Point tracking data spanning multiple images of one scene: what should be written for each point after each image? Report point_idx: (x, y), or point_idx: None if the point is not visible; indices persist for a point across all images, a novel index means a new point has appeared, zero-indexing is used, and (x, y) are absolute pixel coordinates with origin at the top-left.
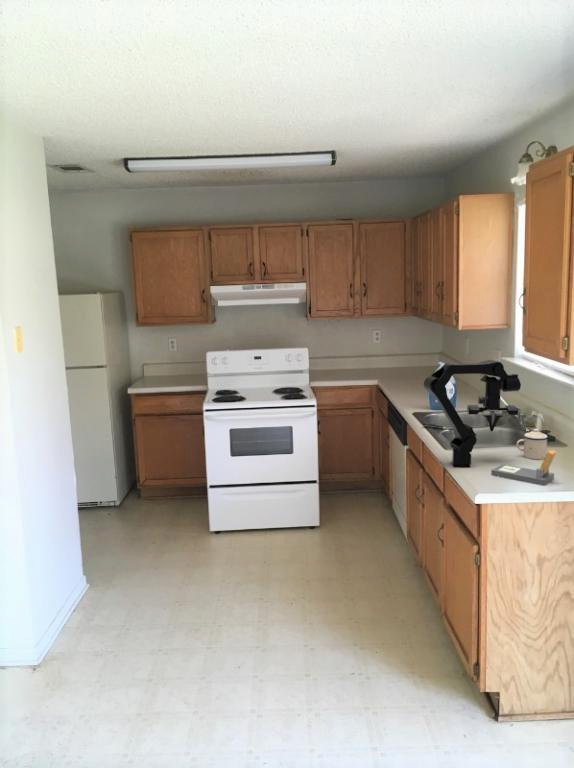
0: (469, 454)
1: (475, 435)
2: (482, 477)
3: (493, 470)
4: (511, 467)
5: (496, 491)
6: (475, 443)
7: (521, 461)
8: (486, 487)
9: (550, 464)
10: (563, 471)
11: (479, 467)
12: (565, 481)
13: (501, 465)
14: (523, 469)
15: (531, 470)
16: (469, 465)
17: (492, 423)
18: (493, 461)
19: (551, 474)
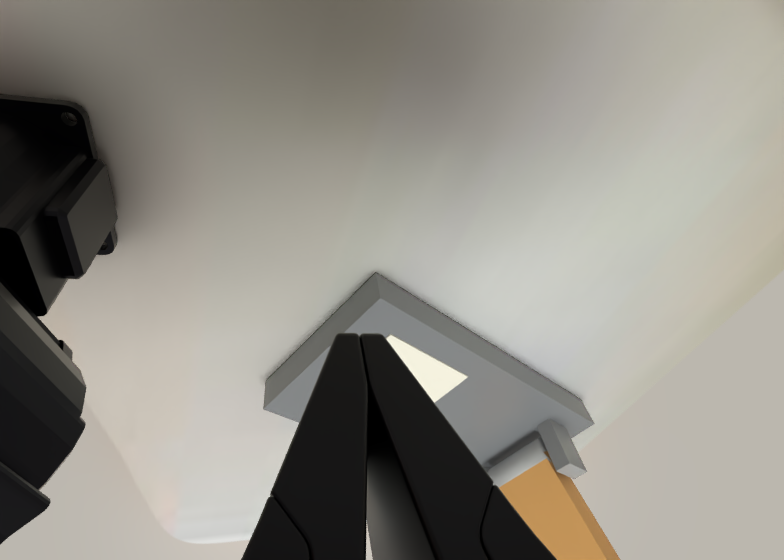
0: (61, 287)
1: (28, 502)
2: (204, 410)
3: (275, 412)
4: (414, 365)
5: (248, 526)
6: (83, 382)
7: (642, 70)
8: (210, 503)
9: (581, 497)
10: (726, 303)
11: (203, 239)
12: (604, 421)
13: (362, 329)
14: (472, 386)
15: (508, 397)
16: (106, 237)
17: (388, 537)
18: (377, 56)
19: (570, 435)
